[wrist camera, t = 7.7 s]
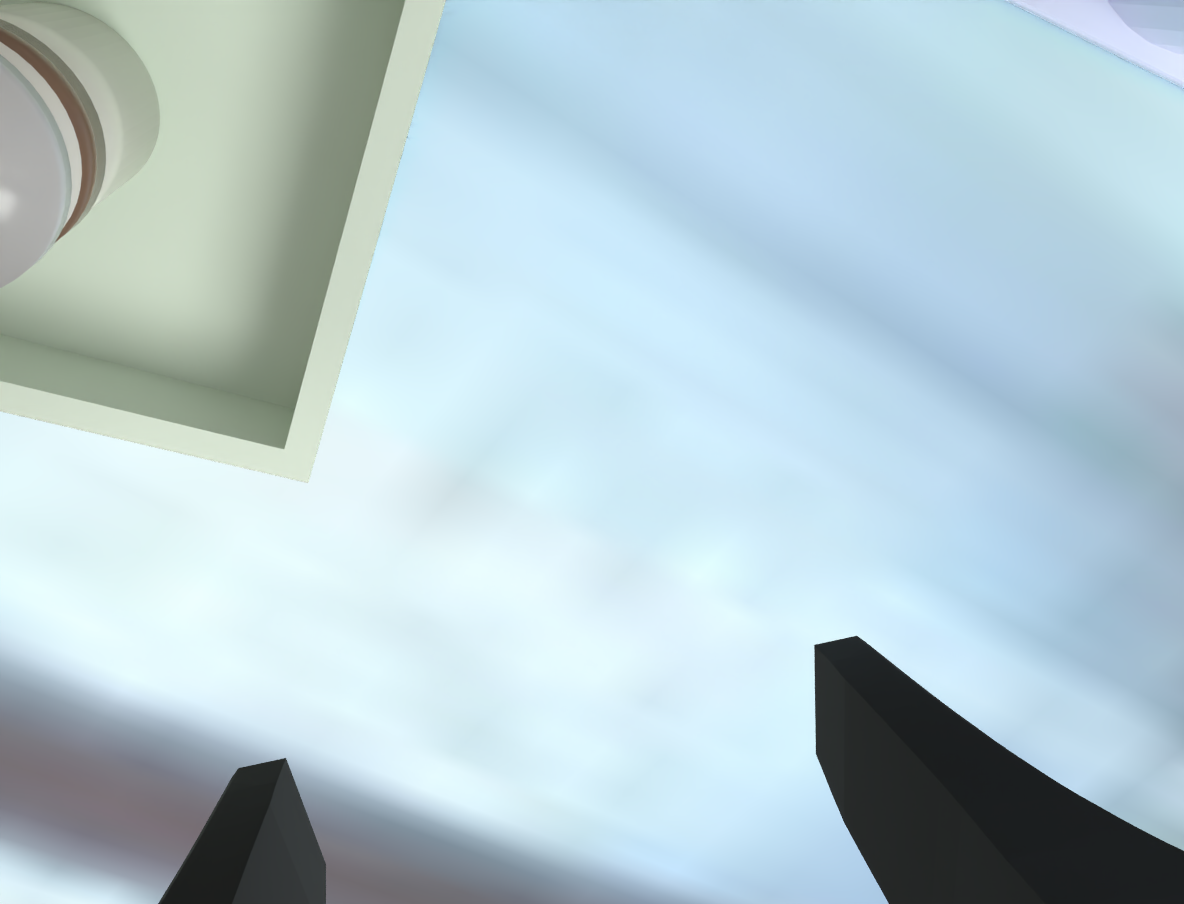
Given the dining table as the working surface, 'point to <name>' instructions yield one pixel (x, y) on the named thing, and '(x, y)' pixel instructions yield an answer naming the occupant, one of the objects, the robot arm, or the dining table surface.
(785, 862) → the dining table surface
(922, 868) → the robot arm
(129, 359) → the parts tray
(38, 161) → the cylinder
